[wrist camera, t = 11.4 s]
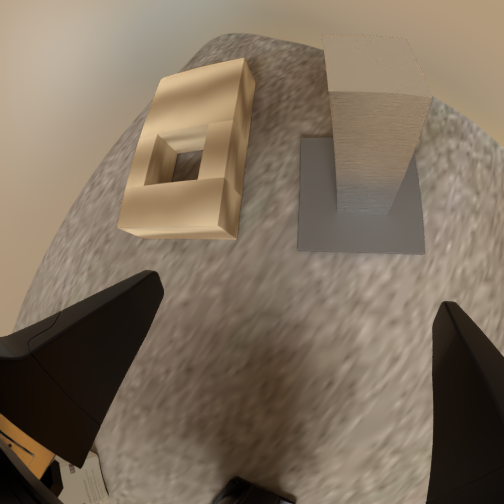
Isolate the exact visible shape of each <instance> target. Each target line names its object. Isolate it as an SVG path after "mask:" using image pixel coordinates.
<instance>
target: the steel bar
mask: <svg viewBox="0 0 504 504" xmlns="http://www.w3.org/2000/svg"><path fill="white" fill-rule="evenodd" d="M322 40H323V47H324V55H325V63H326V72H327V81H328V92H329V100H330V108H331V117H332V127H333V139H334V151H335V166H336V185H337V212H354V213H382V214H388V212H389V210H390V207H391V205H392V203H393V201H394V199H395V196H396V194H397V192H398V189H399V187H400V185H401V182H402V180H403V178H404V175H405V173H406V170H407V168H408V165H409V163H410V160H411V158H412V155H413V153H414V150H415V147H416V145H417V142H418V139H419V136H420V134H421V131H422V128H423V125H424V122H425V119H426V116H427V113H428V110H429V107H430V103H431V100H432V96H431V93H430V90H429V88H428V85H427V83H426V80H425V78H424V75H423V73H422V70H421V68H420V66H419V64H418V61H417V59H416V57H415V55H414V53H413V51H412V49H411V46H410V44H409V42H408V40H407V39H402V38H393V37H382V36H365V35H322Z"/></svg>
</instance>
